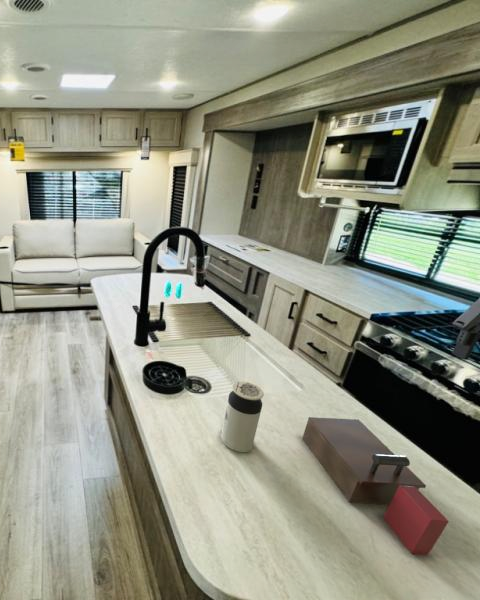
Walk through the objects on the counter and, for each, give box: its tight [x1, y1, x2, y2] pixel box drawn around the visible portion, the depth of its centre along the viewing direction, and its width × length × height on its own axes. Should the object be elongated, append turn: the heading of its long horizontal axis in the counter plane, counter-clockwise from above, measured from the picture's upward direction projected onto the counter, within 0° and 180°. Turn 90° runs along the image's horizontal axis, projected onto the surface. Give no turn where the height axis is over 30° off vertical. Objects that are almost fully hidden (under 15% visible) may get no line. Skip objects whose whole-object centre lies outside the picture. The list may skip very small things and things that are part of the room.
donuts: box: [164, 280, 184, 299], centre depth 192 cm, size 10×10×10 cm
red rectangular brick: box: [382, 486, 450, 556], centre depth 63 cm, size 3×7×10 cm, turn 175°
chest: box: [302, 419, 420, 506], centre depth 78 cm, size 19×13×7 cm
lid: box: [307, 416, 427, 489], centre depth 75 cm, size 20×13×6 cm, turn 175°
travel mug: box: [220, 380, 265, 453], centre depth 85 cm, size 8×8×18 cm
